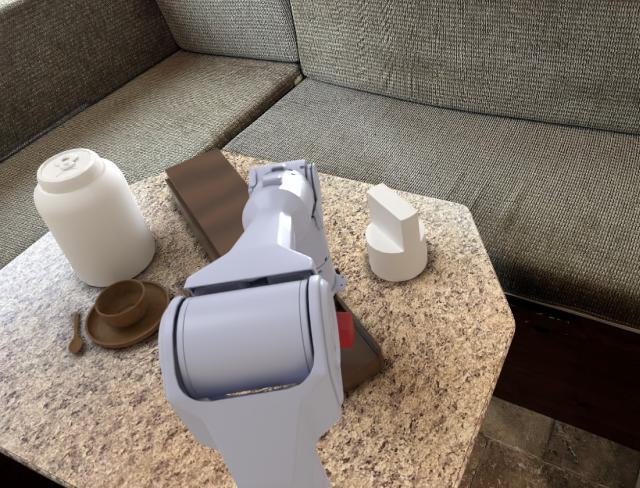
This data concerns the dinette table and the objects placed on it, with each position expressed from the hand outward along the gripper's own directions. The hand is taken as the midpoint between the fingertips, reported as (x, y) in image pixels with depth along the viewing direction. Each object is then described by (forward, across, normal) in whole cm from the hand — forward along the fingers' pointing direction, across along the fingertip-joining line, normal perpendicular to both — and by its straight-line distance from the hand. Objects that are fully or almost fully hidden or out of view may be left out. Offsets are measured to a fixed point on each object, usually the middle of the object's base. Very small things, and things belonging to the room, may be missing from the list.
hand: (323, 333), depth 74 cm
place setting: (+8, +6, +29) cm, 31 cm away
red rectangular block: (+1, 0, 0) cm, 1 cm away
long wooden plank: (+8, +19, +14) cm, 24 cm away
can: (+8, +22, +38) cm, 45 cm away
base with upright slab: (+8, +20, -8) cm, 23 cm away
